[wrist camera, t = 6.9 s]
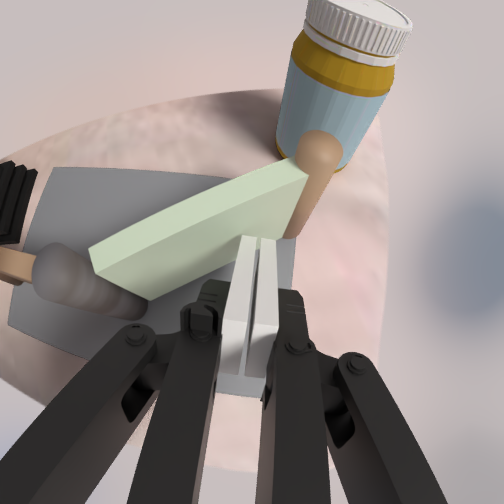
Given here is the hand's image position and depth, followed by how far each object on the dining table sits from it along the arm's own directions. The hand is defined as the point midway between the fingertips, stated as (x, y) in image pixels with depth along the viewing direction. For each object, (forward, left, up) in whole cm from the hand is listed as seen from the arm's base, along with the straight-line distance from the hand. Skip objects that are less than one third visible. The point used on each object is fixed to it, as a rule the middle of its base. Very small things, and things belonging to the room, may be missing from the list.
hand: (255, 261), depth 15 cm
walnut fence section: (-14, -3, -5) cm, 16 cm away
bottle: (+4, +13, -6) cm, 15 cm away
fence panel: (-2, +1, -4) cm, 5 cm away
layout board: (-9, 0, -5) cm, 11 cm away
